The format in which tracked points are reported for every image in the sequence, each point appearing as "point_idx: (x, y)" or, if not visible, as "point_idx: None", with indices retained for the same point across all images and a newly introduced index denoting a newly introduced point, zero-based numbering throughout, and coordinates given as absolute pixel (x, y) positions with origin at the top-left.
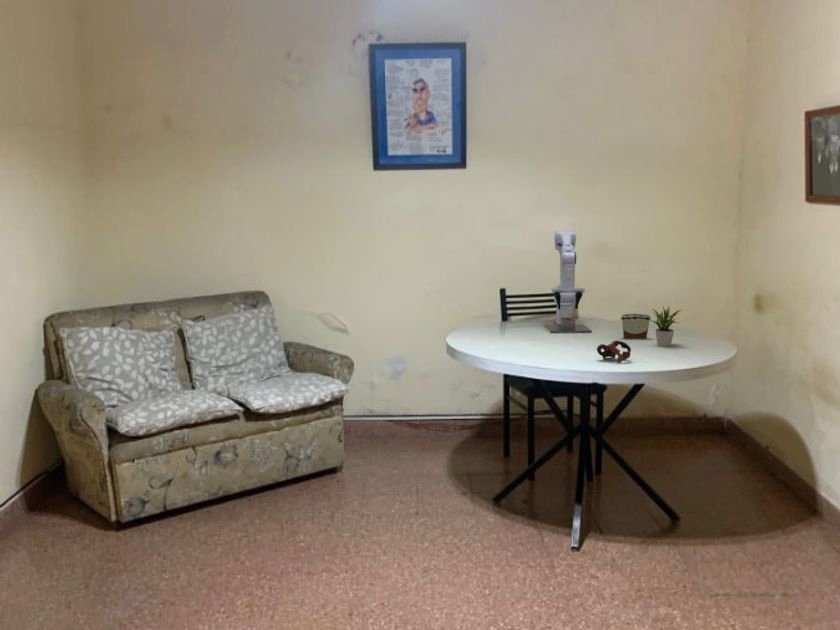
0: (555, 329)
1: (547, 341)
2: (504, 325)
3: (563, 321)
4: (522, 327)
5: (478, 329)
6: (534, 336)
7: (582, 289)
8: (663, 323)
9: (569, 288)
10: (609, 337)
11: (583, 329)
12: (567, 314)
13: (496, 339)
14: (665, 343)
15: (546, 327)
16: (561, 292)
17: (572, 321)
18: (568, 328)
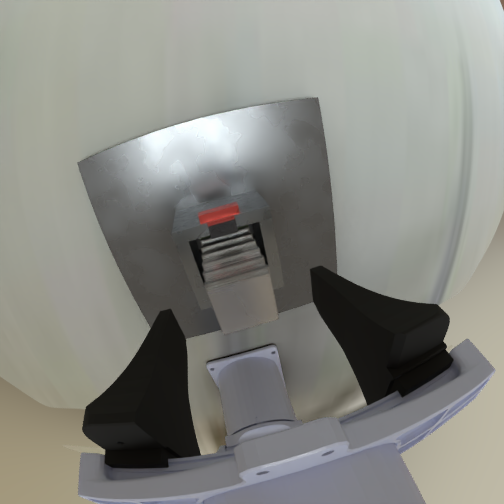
0: (292, 149)
1: None
2: (445, 266)
3: (256, 204)
4: (411, 242)
5: (499, 181)
6: (376, 20)
7: (98, 491)
8: None
9: (300, 487)
10: (10, 68)
11: (124, 187)
12: (237, 255)
13: (461, 7)
14: None
15: (332, 234)
16: (376, 407)
17: (192, 222)
18: (215, 200)
